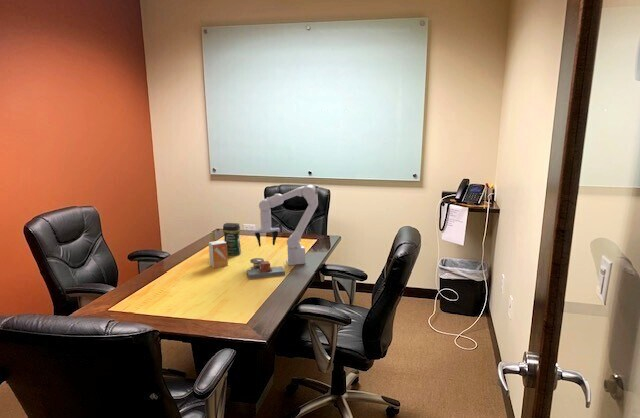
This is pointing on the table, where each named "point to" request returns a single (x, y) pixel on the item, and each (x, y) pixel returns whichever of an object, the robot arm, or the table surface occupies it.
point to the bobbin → (256, 263)
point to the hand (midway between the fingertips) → (266, 245)
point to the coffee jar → (232, 238)
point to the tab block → (265, 266)
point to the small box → (218, 254)
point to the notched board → (257, 274)
